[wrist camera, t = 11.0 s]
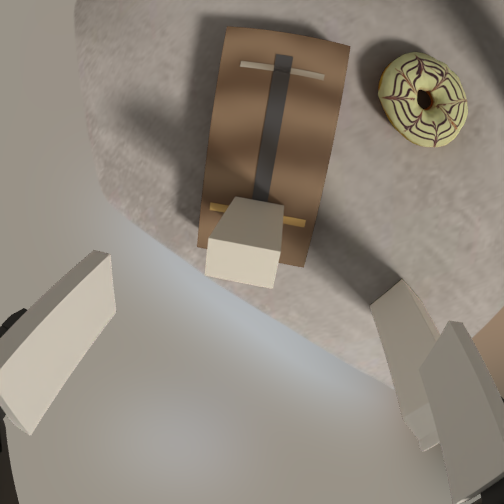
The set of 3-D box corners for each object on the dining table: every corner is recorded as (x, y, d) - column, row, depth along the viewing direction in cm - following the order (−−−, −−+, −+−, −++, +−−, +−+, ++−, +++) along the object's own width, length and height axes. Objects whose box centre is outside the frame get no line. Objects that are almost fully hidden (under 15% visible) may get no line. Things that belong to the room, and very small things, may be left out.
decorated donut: (404, 39, 25) (416, 32, 21) (468, 101, 26) (484, 101, 23) (358, 101, 29) (366, 99, 26) (426, 161, 31) (439, 167, 27)
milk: (368, 305, 39) (406, 446, 20) (402, 277, 37) (466, 410, 17) (392, 328, 41) (431, 458, 21) (424, 303, 38) (483, 428, 18)
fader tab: (235, 196, 31) (208, 238, 21) (284, 205, 31) (280, 251, 21) (231, 223, 32) (204, 275, 22) (278, 232, 32) (272, 288, 22)
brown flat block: (234, 35, 27) (226, 26, 23) (343, 53, 27) (350, 45, 23) (206, 233, 38) (196, 247, 34) (302, 252, 37) (303, 267, 33)
